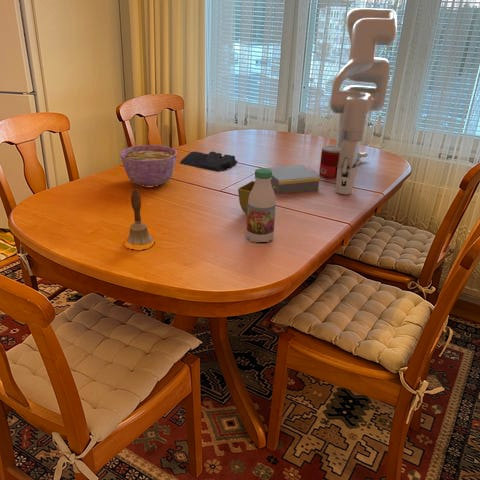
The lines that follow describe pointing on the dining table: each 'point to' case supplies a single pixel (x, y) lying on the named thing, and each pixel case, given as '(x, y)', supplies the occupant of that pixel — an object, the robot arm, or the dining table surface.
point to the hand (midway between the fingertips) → (344, 185)
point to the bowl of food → (149, 164)
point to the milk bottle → (261, 208)
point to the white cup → (350, 180)
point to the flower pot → (246, 195)
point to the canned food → (329, 161)
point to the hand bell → (138, 223)
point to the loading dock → (293, 179)
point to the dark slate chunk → (210, 161)
